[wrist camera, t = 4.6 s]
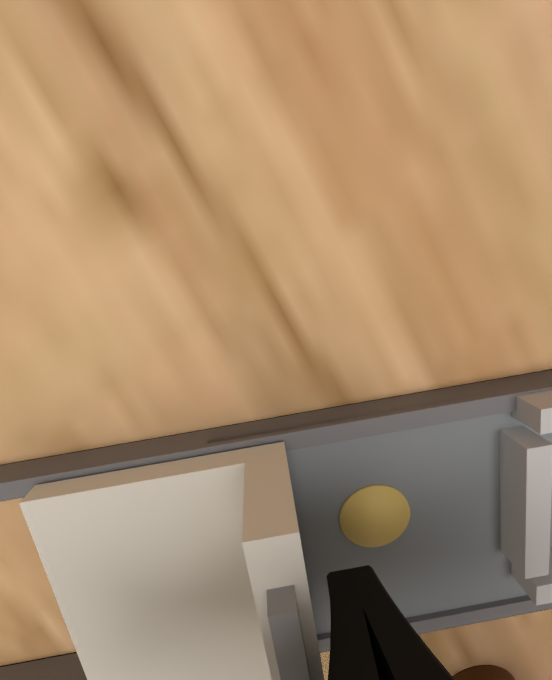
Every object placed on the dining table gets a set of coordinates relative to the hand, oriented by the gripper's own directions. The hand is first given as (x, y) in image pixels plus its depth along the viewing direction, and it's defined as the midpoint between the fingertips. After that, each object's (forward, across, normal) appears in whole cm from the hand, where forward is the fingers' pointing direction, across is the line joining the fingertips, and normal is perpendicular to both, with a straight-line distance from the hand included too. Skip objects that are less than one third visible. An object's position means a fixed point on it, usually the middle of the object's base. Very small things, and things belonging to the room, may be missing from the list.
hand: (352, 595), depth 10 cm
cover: (+2, +5, 0) cm, 5 cm away
